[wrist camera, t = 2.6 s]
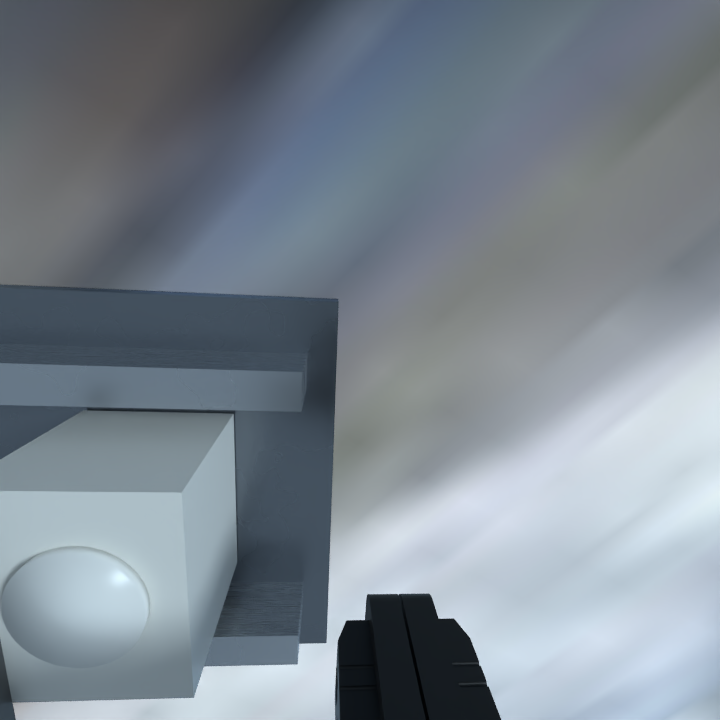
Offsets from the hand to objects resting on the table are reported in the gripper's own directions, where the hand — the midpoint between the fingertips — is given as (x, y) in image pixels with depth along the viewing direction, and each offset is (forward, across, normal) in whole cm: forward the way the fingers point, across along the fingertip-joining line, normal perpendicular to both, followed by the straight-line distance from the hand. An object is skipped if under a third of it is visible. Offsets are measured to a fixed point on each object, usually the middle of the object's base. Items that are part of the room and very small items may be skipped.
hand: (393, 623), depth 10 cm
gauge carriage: (+6, +7, 0) cm, 9 cm away
